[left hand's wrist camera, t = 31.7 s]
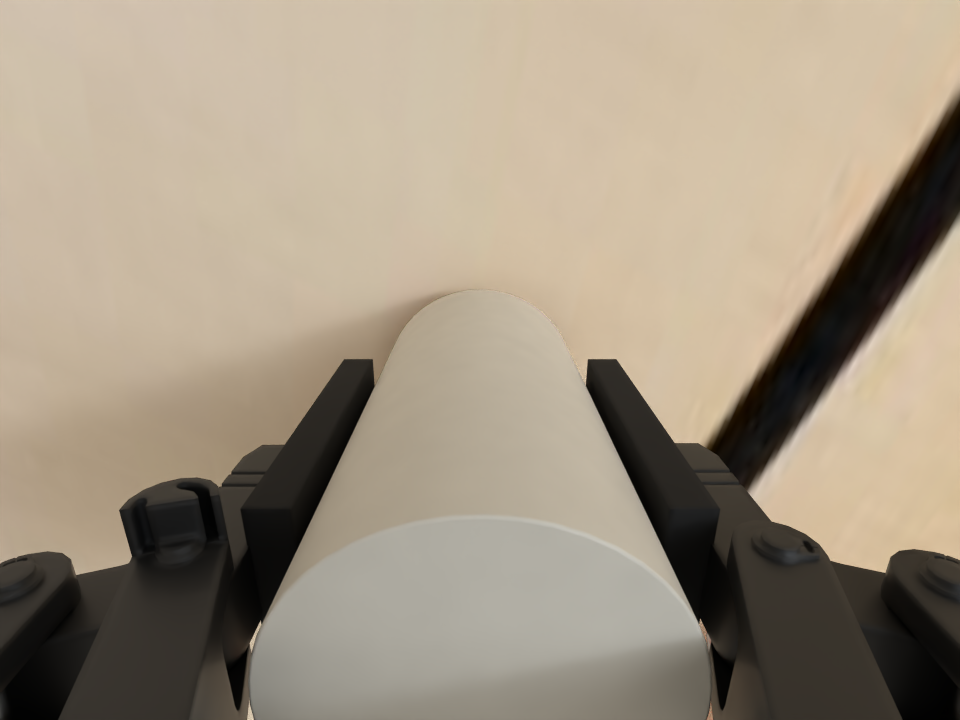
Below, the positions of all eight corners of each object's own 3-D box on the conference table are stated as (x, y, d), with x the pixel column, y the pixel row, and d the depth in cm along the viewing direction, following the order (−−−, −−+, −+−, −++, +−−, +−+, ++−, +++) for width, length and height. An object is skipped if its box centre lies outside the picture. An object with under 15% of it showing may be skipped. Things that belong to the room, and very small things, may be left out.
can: (501, 250, 15) (543, 418, 5) (605, 396, 17) (793, 743, 7) (351, 360, 16) (145, 672, 6) (462, 486, 18) (438, 898, 8)
